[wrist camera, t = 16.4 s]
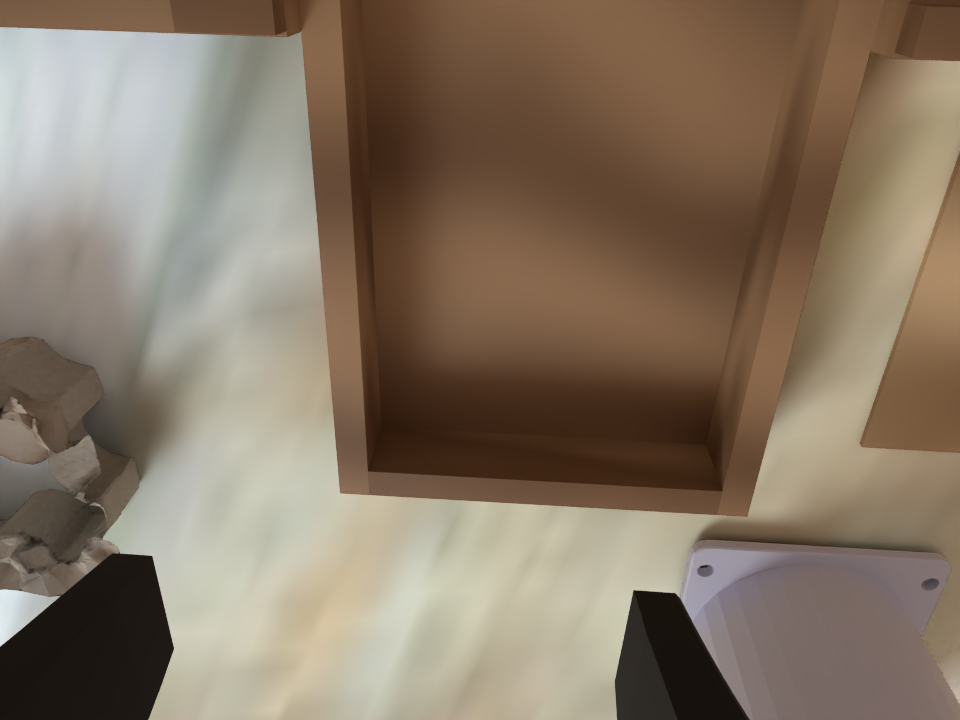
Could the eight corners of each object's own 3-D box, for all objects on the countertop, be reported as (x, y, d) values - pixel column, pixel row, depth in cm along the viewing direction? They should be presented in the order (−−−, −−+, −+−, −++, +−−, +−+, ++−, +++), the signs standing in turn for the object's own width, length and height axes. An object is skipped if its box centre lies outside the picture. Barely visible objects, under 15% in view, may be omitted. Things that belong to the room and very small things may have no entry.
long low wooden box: (786, 461, 22) (838, 567, 18) (-58, 415, 23) (-171, 506, 19) (983, -236, 14) (1149, -300, 10) (-324, -264, 15) (-608, -333, 11)
